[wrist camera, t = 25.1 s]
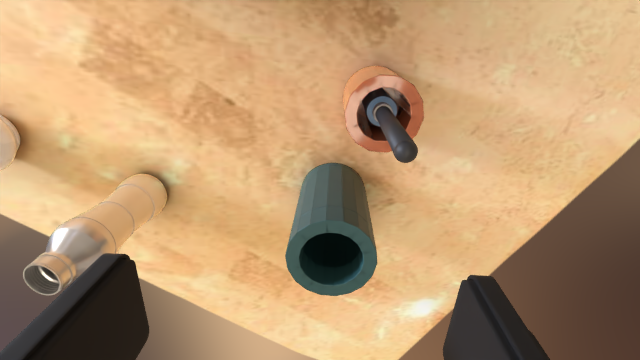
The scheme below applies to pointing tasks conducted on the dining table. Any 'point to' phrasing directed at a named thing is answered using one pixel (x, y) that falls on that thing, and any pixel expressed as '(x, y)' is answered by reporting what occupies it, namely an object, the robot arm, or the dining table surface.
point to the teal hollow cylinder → (332, 233)
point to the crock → (397, 89)
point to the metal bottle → (95, 233)
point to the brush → (389, 124)
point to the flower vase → (8, 142)
